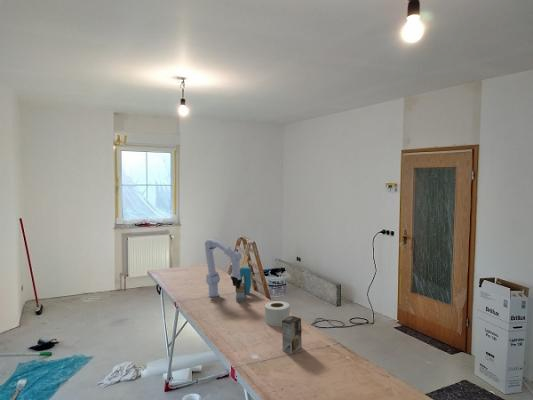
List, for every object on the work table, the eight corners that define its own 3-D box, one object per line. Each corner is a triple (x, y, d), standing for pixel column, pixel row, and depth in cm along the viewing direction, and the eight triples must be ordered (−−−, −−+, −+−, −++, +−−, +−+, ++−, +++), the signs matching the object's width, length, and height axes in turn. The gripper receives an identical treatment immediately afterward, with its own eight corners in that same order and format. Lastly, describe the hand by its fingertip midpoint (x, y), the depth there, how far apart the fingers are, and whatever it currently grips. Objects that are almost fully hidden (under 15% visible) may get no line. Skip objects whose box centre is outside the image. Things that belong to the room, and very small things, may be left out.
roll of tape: (287, 327, 234) (287, 309, 233) (262, 325, 237) (262, 308, 236) (291, 317, 249) (291, 301, 248) (267, 316, 252) (267, 300, 252)
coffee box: (292, 344, 209) (291, 315, 208) (302, 347, 205) (301, 317, 204) (282, 350, 202) (281, 320, 201) (292, 354, 198) (291, 323, 197)
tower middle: (236, 295, 289) (236, 290, 289) (244, 294, 290) (244, 290, 289) (236, 297, 283) (236, 292, 283) (244, 297, 284) (244, 292, 283)
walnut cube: (235, 291, 287) (235, 284, 287) (241, 290, 289) (241, 283, 289) (238, 293, 283) (238, 286, 282) (244, 291, 285) (244, 285, 285)
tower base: (235, 299, 289) (235, 295, 289) (243, 299, 290) (243, 294, 290) (236, 302, 283) (236, 297, 283) (244, 301, 284) (244, 297, 284)
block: (249, 291, 309) (248, 266, 308) (251, 293, 304) (251, 268, 303) (235, 293, 304) (234, 268, 303) (237, 295, 300) (236, 269, 298)
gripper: (227, 267, 290) (228, 285, 290) (233, 271, 276) (234, 290, 277) (236, 266, 292) (237, 284, 293) (243, 270, 279) (243, 289, 280)
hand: (236, 287), depth 285 cm, fingers open, 7 cm apart
